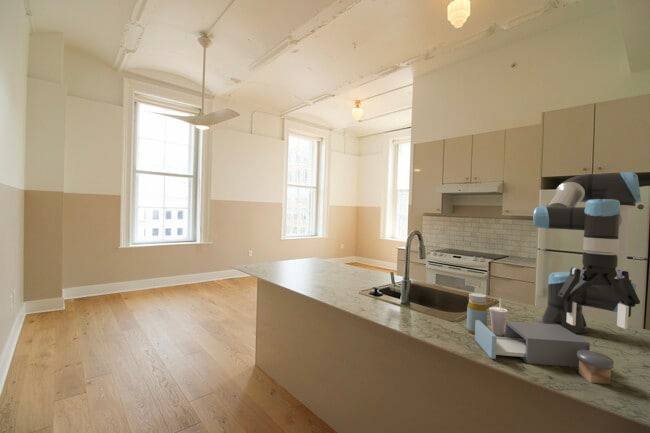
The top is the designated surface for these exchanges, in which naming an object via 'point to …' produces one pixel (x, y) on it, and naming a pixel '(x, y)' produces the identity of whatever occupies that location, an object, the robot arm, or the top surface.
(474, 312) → the bottle
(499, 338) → the light blue drawer
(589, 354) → the disc
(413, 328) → the top surface
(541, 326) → the housing
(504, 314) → the smoothie
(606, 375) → the block
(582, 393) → the top surface
